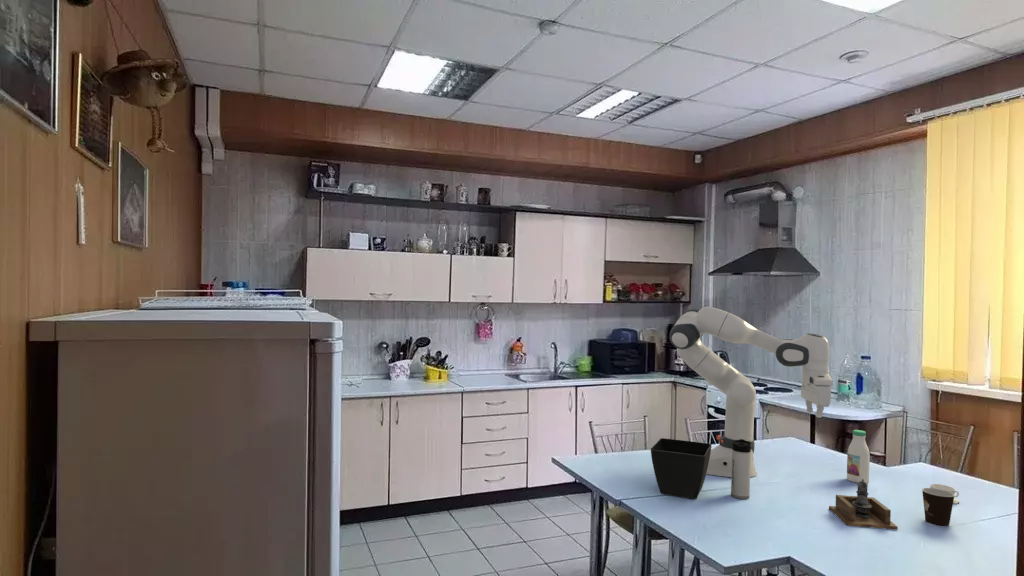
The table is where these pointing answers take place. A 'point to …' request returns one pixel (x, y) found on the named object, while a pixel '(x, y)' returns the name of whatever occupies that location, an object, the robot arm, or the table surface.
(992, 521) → the table surface
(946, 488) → the teacup
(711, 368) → the robot arm
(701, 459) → the flower pot
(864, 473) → the milk bottle
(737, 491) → the travel mug
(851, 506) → the u-rest
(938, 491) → the coffee mug
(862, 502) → the grey chess piece
